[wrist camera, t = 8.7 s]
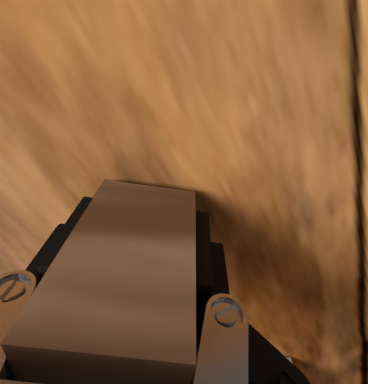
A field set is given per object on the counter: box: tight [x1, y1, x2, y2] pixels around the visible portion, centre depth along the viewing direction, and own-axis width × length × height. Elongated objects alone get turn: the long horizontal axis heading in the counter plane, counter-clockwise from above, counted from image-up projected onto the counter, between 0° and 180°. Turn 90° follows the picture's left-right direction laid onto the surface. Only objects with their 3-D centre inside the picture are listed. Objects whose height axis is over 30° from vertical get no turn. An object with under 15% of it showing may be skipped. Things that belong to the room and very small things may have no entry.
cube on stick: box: [1, 180, 196, 384], centre depth 13 cm, size 20×4×7 cm, turn 173°
